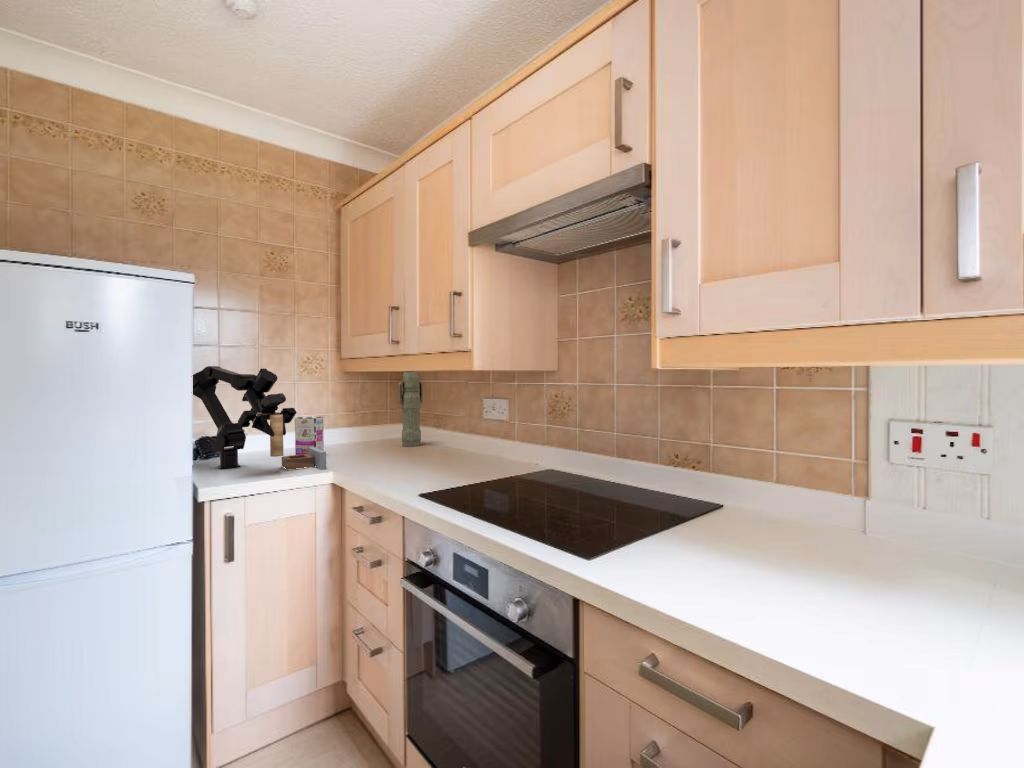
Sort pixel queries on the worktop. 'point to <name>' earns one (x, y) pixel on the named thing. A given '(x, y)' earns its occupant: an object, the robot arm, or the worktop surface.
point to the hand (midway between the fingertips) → (279, 435)
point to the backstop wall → (318, 457)
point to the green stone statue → (411, 408)
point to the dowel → (276, 435)
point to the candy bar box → (308, 434)
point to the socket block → (297, 461)
